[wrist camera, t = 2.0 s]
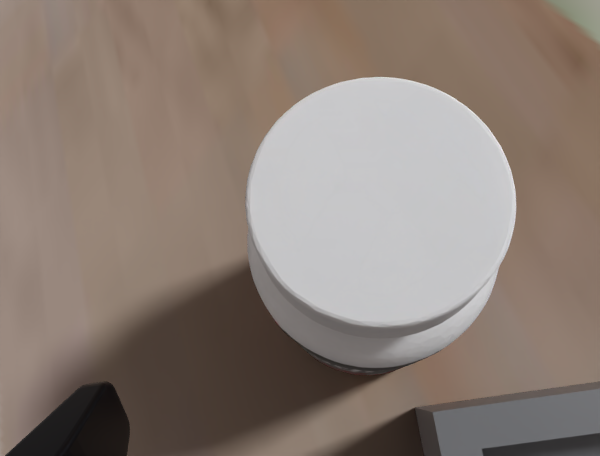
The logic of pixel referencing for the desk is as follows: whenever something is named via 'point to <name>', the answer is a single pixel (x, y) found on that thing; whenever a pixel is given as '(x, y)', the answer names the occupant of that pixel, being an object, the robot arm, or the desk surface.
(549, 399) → the bottle holder
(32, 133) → the desk surface
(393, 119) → the pill bottle
